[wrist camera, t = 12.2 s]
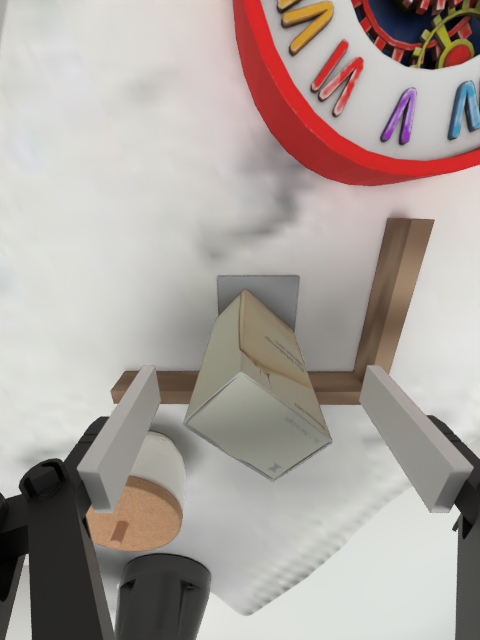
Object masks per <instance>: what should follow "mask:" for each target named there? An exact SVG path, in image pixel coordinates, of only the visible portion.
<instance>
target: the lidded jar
mask: <svg viewBox="0 0 480 640" xmlns="http://www.w3.org/2000/svg"><path fill="white" fill-rule="evenodd" d="M185 495H186V470H185V465H184V461H183V459H182V456H181V455H180V453H179V451H178V450H177V449H176V446H175V444H174V443H173V441H172V440H171V439H170V438H168V437H167V436H165V435H163V434H161V433H158V432H154V431H148V432H147V435H146V437H145V439H144V442H143V444H142V446H141V449H140V451H139V453H138V456H137V458H136V460H135V463H134V465H133V467H132V470H131V472H130V474H129V477H128V479H127V482H126V484H125V486H124V489H123V491H122V493H121V496H120V498H119V500H118V503H117V505H116V507H115V510H114V512H113V513H94V510H93V508H92V505H91V506H90V508H89V510H88V512H87V514H86V517H87V520H88V524H89V529H90V533H91V537H92V541H93V542H94V543H96V544H99V545H102V546H105V547H108V548H112V549H117V550H124V551H145V550H151V549H155V548H159V547H161V546H164V545H166V544H168V543H169V542H171V541H172V540H173V539H174V538H175V537H176V536H177V535H178V533H179V531H180V528H181V523H182V517H183V513H182V511H183V507H184V501H185Z"/></svg>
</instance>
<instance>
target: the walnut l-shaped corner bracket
mask: <svg viewBox="0 0 480 640" xmlns="http://www.w3.org/2000/svg"><path fill="white" fill-rule="evenodd" d="M434 221H435V220H430V219H409V218H388V220H387V224H386V229H385V233H384V238H383V242H382V246H381V251H380V255H379V260H378V264H377V269H376V273H375V278H374V282H373V287H372V291H371V296H370V300H369V305H368V309H367V313H366V318H365V322H364V327H363V331H362V336H361V340H360V345H359V349H358V354H357V358H356V363H355V367H354V372H307V373H308V375H309V378H310V381H311V384H312V387H313V389H314V392H315V395H316V398H317V400H318V403H319V404H320V405H361V403H360V402H359V398H360V394H361V389H362V385H363V381H364V377H365V373H366V368H367V365H380V366H381V367H382V368H383V370H384V371H385V372H386V373H387V374H388V375H389V372H390V369H391V365H392V362H393V359H394V355H395V352H396V349H397V345H398V342H399V338H400V335H401V332H402V328H403V325H404V322H405V318H406V315H407V312H408V308H409V305H410V301H411V298H412V295H413V291H414V288H415V285H416V281H417V278H418V274H419V271H420V268H421V264H422V261H423V258H424V254H425V251H426V248H427V244H428V241H429V237H430V234H431V231H432V227H433V224H434ZM298 287H299V276H217V290H218V313H219V315H220V314H221V313H222V312H223V311H224V310H225V309H226V308H227V307H228V306H229V305H230V304H231V303H232V302H233V301H234V299H235V298H236V297H238V296H239V294H240V293H241V292H242V291H243V290H244V289H247V290H248V291H249V292H250V293H251V294H253V295H254V296H255V297H256V298H257V299H258V300H259V301H261V302H262V303H263V304H264V305H265V306H266V307H267V308H269V309H270V310H271V311H272V312H273V313H274V314H275V315H276V316H277V317H279V318H280V319H281V320H282V321H283V322H284V323H285V324H286V325H287V326H288V327H289V328H291V329H292V331H293V333H294V328H295V318H296V307H297V297H298ZM138 373H139V372H136V371H125V372H124V373H123V375H122V376H121V377H120V379H119V380H118V381H117V383H116V384H115V385H114V387H113V388H112V390H111V395H112V399H113V402H114V404H118V403H119V402H120V400H121V399H122V397H123V396H124V394H125V393H126V391H127V390H128V388H129V386H130V385H131V383H132V382H133V380H134V379H135V377H136V376H137V374H138ZM156 375H157V380H158V386H159V392H160V398H161V402H160V404H190V401H191V397H192V394H193V391H194V388H195V385H196V381H197V378H198V375H199V372H156Z"/></svg>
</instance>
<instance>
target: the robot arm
mask: <svg viewBox="0 0 480 640" xmlns="http://www.w3.org/2000/svg"><path fill="white" fill-rule="evenodd" d="M160 402H161V398H160V392H159V386H158V380H157V375H156V369H155V366H142V368H141V369H140V371H139V373H138V374H137V376H136V377H135V379H134V380H133V382H132V383H131V385H130V386H129V388H128V390H127V391H126V393H125V394H124V396H123V397H122V399H121V400H120V402H119V403H118V405H117V406H116V408H115V410H114V411H113V413H112V414H111V416H110V417H99V418H98V419H97V420H95V421H94V422H93V423H92V424H91V425H90V426H89V427H88V429H87V430H86V431H85V433H84V435H83V436H82V437H81V438H80V440H79V441H78V444H76V445H75V447H74V448H73V450H72V451H71V452H70V454H69V455H68V457H67V458H66V459H65V461H64V462H62V460H60V459H57V458H55V459H48V460H45V461H43V462H40V463H39V464H37V465H35V466H34V467H32V468H31V469H30V470H29V471H28V472H27V473H25V475H24V476H23V478H22V479H21V480H20V484H19V489H20V491H21V493H22V494H20V495H17V496H14V497H10V498H7V499H5V498H4V496H3V495H2V494H1V493H0V640H5V637H6V633H7V629H8V625H9V621H10V617H11V612H12V608H13V604H14V600H15V596H16V592H17V588H18V584H19V580H20V576H21V572H22V567H23V563H24V559H25V555H26V554H28V553H29V573H30V599H31V624H32V626H31V627H32V640H196V637H197V634H198V631H199V627H200V624H201V621H202V618H203V615H204V611H205V608H206V605H207V602H208V598H209V592H210V581H211V577H210V574H209V572H208V571H207V570H206V569H205V568H204V567H203V566H202V565H200V564H198V563H197V562H195V561H192V560H190V559H187V558H183V557H179V556H173V555H149V556H144V557H140V558H137V559H135V560H133V561H131V562H130V563H129V564H128V565H127V566H126V567H125V569H124V572H123V575H122V578H121V582H120V585H119V590H118V600H117V610H116V620H115V630H114V631H113V627H112V622H111V618H110V614H109V610H108V605H107V601H106V597H105V592H104V588H103V584H102V580H101V575H100V571H99V567H98V563H97V558H96V554H95V550H94V546H93V541H92V537H91V533H90V529H89V524H88V520H87V517H86V514H87V512H88V510H89V508H90V506H91V505H92V508H93V510H94V513H113V512H114V510H115V507H116V505H117V503H118V500H119V498H120V496H121V493H122V491H123V489H124V486H125V484H126V482H127V479H128V477H129V474H130V472H131V470H132V467H133V465H134V463H135V460H136V458H137V456H138V453H139V451H140V449H141V446H142V444H143V442H144V439H145V437H146V435H147V432H148V430H149V428H150V425H151V423H152V421H153V418H154V416H155V414H156V411H157V409H158V407H159V404H160ZM359 402H360V403H361V405H362V406H363V408H364V409H365V411H366V413H367V414H368V416H369V417H370V419H371V420H372V422H373V424H374V425H375V427H376V428H377V430H378V431H379V433H380V435H381V436H382V438H383V439H384V441H385V442H386V444H387V446H388V447H389V449H390V450H391V452H392V453H393V455H394V457H395V458H396V460H397V461H398V463H399V464H400V466H401V468H402V469H403V471H404V472H405V474H406V475H407V477H408V479H409V480H410V482H411V483H412V485H413V486H414V488H415V489H416V491H417V493H418V494H419V496H420V497H421V499H422V501H423V502H424V504H425V505H426V507H427V508H428V510H429V511H430V513H449V512H450V510H451V508H452V506H453V505H454V504H455V505H456V506H457V508H458V509H459V510H460V512H461V514H460V516H459V517H458V519H457V521H456V523H455V524H454V526H453V529H452V530H453V531H456V530H457V529H458V558H457V596H456V597H457V598H456V633H455V640H480V459H479V458H478V457H477V456H476V455H475V454H474V453H473V452H472V451H471V450H470V449H469V448H468V447H467V446H466V445H465V444H464V443H463V442H461V440H460V439H459V438H458V437H457V436H456V435H455V434H454V433H453V431H452V430H451V429H450V428H449V427H448V426H447V425H446V424H445V423H443V422H442V421H440V420H439V419H437V418H436V417H434V416H433V415H425V414H424V413H423V412H422V411H421V410H420V409H419V407H418V406H417V405H416V404H415V403H414V402H413V401H412V400H411V399H410V398H409V397H408V396H407V394H406V393H405V392H404V391H403V390H402V389H401V388H400V387H399V386H398V385H397V384H396V383H395V381H394V380H393V379H392V378H391V377H390V376H389V375H388V374H387V373H386V372H385V371H384V370H383V368H382V367H381V366H380V365H367V368H366V373H365V377H364V381H363V385H362V389H361V394H360V398H359Z"/></svg>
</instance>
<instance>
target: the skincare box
mask: <svg viewBox="0 0 480 640" xmlns="http://www.w3.org/2000/svg"><path fill="white" fill-rule="evenodd" d="M183 424H184V426H185V427H186V428H188V429H189V430H191V431H193V432H194V433H196V434H197V435H199V436H200V437H202V438H203V439H205V440H206V441H208V442H209V443H211V444H213V445H214V446H216V447H218V448H219V449H220V450H222V451H223V452H225V453H226V454H228V455H229V456H231V457H233V458H234V459H236V460H238V461H240V462H241V463H243V464H245V465H246V466H248V467H250V468H251V469H253V470H254V471H256V472H258V473H259V474H261V475H263V476H264V477H266V478H267V479H269V480H270V481H272V482H274V481H275V480H277V479H278V478H279V477H281V476H283V475H284V474H286V473H288V472H289V471H291V470H292V469H294V468H295V467H297V466H298V465H300V464H301V463H303V462H304V461H306V460H308V459H309V458H311V457H312V456H314V455H315V454H316V453H318V452H320V451H321V450H323V449H324V448H326V447H327V446H329V445H330V444H331V443H332V439H331V436H330V433H329V431H328V428H327V426H326V423H325V420H324V417H323V414H322V412H321V409H320V406H319V403H318V400H317V398H316V395H315V392H314V389H313V387H312V384H311V381H310V378H309V375H308V373H307V370H306V367H305V364H304V361H303V359H302V356H301V353H300V350H299V347H298V344H297V342H296V339H295V336H294V333H293V331H292V329H291V328H289V327H288V326H287V325H286V324H285V323H284V322H283V321H282V320H281V319H280V318H279V317H277V316H276V315H275V314H274V313H273V312H272V311H271V310H270V309H269V308H267V307H266V306H265V305H264V304H263V303H262V302H261V301H259V300H258V299H257V298H256V297H255V296H254V295H253V294H251V293H250V292H249V291H248V290H247V289H244V290H243V291H242V292H241V293H240V294H239V296H238V297H236V298H235V299H234V301H233V302H232V303H231V304H230V305H229V306H228V307H227V308H226V309H225V310H224V311H223V312H222V313H221V314H220V315H219V316H218V318H217V319H216V320H215V324H214V327H213V330H212V333H211V336H210V340H209V343H208V346H207V349H206V353H205V356H204V359H203V362H202V365H201V369H200V372H199V375H198V378H197V381H196V385H195V388H194V391H193V394H192V397H191V401H190V404H189V407H188V410H187V413H186V416H185V419H184V423H183Z"/></svg>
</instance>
